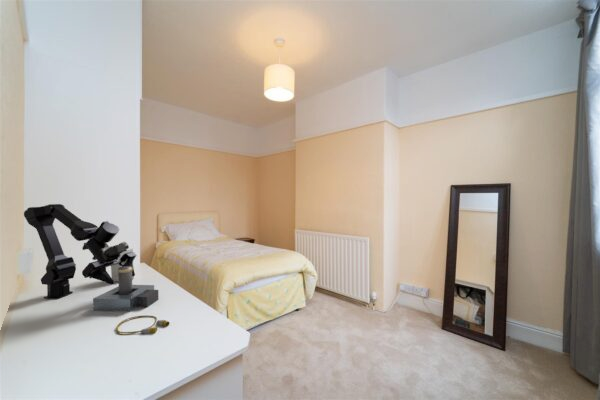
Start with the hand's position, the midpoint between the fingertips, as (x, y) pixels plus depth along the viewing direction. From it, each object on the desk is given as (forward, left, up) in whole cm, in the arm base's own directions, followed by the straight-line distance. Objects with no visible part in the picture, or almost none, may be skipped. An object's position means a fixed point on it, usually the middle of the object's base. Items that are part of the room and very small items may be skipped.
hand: (124, 279), depth 97 cm
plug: (+1, 0, -9) cm, 9 cm away
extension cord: (+18, -16, -10) cm, 27 cm away
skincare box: (-20, +25, -9) cm, 33 cm away
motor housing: (+3, 0, -9) cm, 10 cm away
